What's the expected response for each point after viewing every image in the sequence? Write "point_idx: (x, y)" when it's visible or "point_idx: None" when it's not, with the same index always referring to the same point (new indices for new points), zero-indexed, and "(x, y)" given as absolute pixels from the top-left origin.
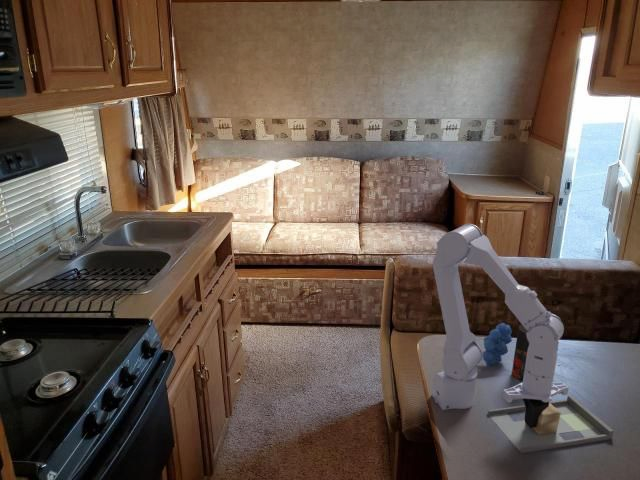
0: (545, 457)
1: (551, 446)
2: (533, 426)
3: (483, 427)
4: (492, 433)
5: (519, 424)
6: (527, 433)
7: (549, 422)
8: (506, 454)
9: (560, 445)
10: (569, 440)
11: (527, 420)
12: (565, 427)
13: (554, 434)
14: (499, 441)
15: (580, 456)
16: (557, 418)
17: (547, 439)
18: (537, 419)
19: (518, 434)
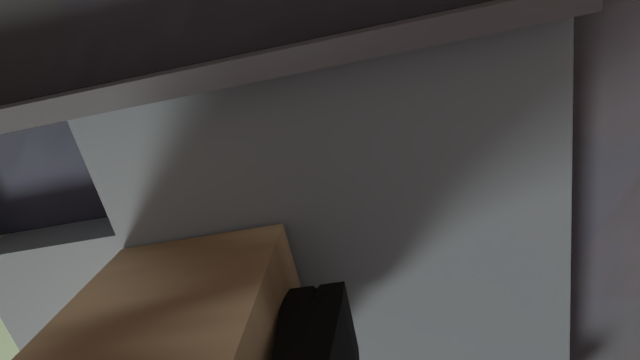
0: (307, 15)
1: (235, 58)
2: (315, 291)
3: (617, 334)
4: (589, 279)
5: (381, 337)
6: (368, 243)
7: (155, 308)
8: (627, 53)
9: (141, 78)
10: (33, 118)
11: (354, 353)
12: (35, 296)
13: (146, 227)
14: (589, 201)
15: (15, 26)
16: (44, 348)
17: (227, 172)
18: (284, 344)
19: (452, 235)
